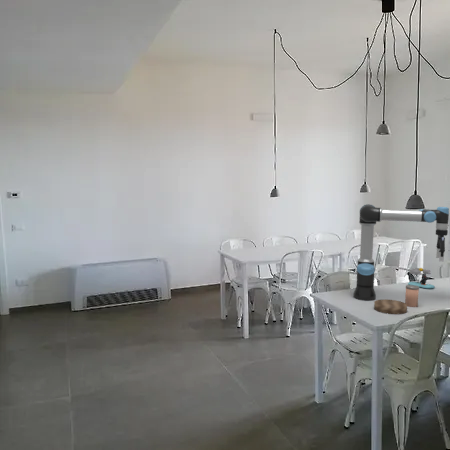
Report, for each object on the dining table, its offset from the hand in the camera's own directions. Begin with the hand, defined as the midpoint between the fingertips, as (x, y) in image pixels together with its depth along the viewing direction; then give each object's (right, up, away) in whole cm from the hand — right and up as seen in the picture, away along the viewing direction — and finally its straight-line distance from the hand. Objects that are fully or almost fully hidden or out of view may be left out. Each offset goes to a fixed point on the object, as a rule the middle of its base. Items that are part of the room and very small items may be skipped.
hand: (439, 259), depth 335 cm
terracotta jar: (-25, -30, -14) cm, 41 cm away
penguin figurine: (+2, -24, +38) cm, 45 cm away
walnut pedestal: (-43, -31, -24) cm, 58 cm away
